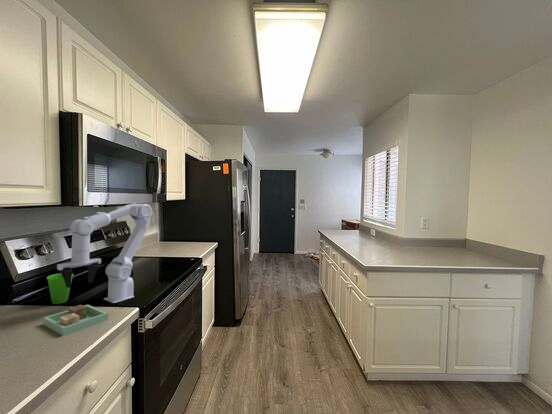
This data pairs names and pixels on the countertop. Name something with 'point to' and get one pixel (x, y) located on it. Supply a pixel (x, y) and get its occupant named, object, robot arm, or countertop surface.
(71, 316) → the beech block in tray
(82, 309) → the walnut block
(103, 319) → the tray
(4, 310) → the countertop surface
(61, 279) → the cup
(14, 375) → the countertop surface
